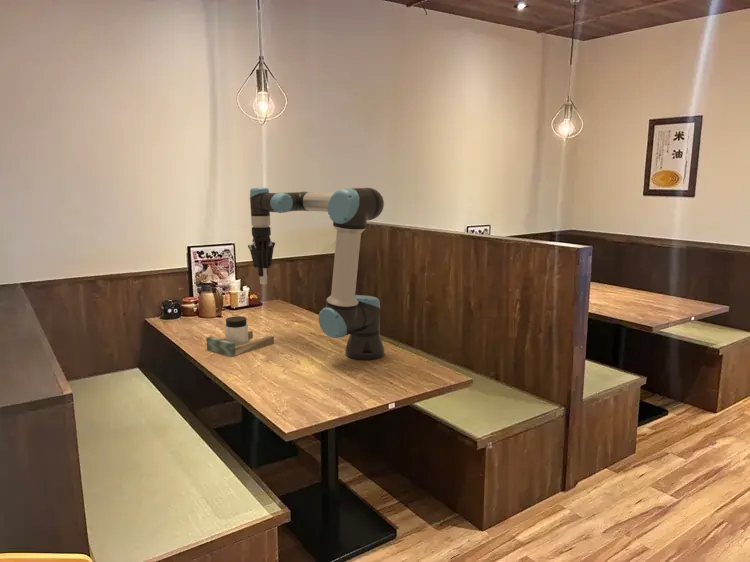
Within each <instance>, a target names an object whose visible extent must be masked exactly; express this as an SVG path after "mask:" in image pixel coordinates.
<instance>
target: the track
mask: <svg viewBox="0 0 750 562" xmlns="http://www.w3.org/2000/svg"><path fill="white" fill-rule="evenodd" d="M274 337H275V336H273V335H268V336H264V337H261V338H259V339H254V340H252V339H253V338H254V331H253V330H249V329H248V340H250V339H251V341H249V342H247V343H244V344H241V345H237V346H235V343H233V342H229V341H226V339H225V336H224V337H221V338H218V337H215V336H207V337H206V339H205V340H206V350H208V351H210V352H214V353H217V354H221V355H224V356H227V357H230V358H231V357H232V358H233V357H234V356H238V355H241V354H245V353H248V352H251V350H252V351H254V349H255V350H258V349H262V348H263V347H267V345H268V346H271V345H274V344H275V341H274V339H275V338H274ZM257 348H258V349H257Z"/></svg>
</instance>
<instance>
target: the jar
mask: <svg viewBox="0 0 750 562" xmlns="http://www.w3.org/2000/svg"><path fill="white" fill-rule="evenodd" d="M247 320H248V319H247V317H246V316H239V315H237V316H229V317H227V318H226V319H225V326H224V335H225V336H224V337H225V339H226V341H229V342H233V343H235V346H237V345H241V344H244V343H247V342H250V341H249V339H248V331H249V325H248V324H247V323H248V321H247Z"/></svg>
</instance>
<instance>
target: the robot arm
mask: <svg viewBox="0 0 750 562" xmlns="http://www.w3.org/2000/svg"><path fill="white" fill-rule="evenodd" d="M384 200H385V199H384V197H383V195H382V194H381V192H379V191H378V190H377V189H375V188H372V187H347V188H341V189H338V190H336V191H334V192H333V191H332V192H331V191H330V192H328V191H327V192H326V191H325V192H320V191H319V192H318V191H317V192H315V191H298V192H297V191H296V192H293V191H292V192H270V189H269V188H268V187H252V188H250V190H249V203H250V220H251V221H250V222H251V236H252V242H251V244H248V245H247V247H248V249H249V251H250V256H251V260H252V263H253V264H252V265H253V267H254V268H256V269H257V270H258V272H257V273H258V277H259V284H260V285H267V284H268V275H269V271H268V269H269V268H270V267H271V266H272V263H273V254H274V249H275V245H276V242H275V241H272V240H271V238H270V236H271V235H272V234H271V233H272V232H271V230H272V229H271V228H272V227H271V213H279V214H281V213H282V214H284V213H288V212H289V213H290V212H300V211H301V212H302V211H303V212H324V213H327V214H328V216H329V218H330V220H331V222H332V227H334V229H335V230H336V234H335V235H336V238H335V247H334V259H333V260H334V261H333V270H332V271H333V272H332V281H331V292H330V293H331V294H330V295H329V296H328V297H327V298H326V303H325V307H323V308H322V309H321V310H320V311H319V313H318V324H319V327H320V329H321V330H322V332H323V333H324V335H326V336H327V337H329V338H331V339H337V338H338V339H339V338H344V337H346V336H348V340H347V343H346V347H345V356H346V357H348V358H350V359H353V360H359V361H371V360H378V359H380V358H382V357H384V355H385V347H384V345H383V344H384V343H383V341H382V337H381V302H380V299H379V298H378V297H376V296H372V295H362V294H361V295H360V294H356V288H357V280H358V279H357V277H358V269H359V257H360V249H361V248H360V247H361V240H362V239H361V237H362V233H363V232H364V231H366V229H367V221H372V220H375V219H376V218H378V217H379V216H380V215H381V214H382V212H383V210H384V207H385V202H384Z"/></svg>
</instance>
